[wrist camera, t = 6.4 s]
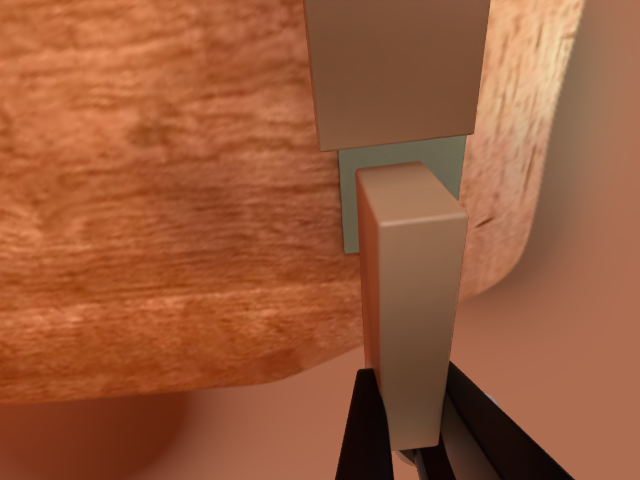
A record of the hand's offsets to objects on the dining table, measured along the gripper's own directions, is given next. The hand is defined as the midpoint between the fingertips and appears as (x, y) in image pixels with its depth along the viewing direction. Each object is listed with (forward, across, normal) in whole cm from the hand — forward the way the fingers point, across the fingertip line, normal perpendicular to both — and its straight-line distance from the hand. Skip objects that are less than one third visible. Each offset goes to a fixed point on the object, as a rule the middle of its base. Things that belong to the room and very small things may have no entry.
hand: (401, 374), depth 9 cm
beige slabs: (+1, 0, -3) cm, 4 cm away
